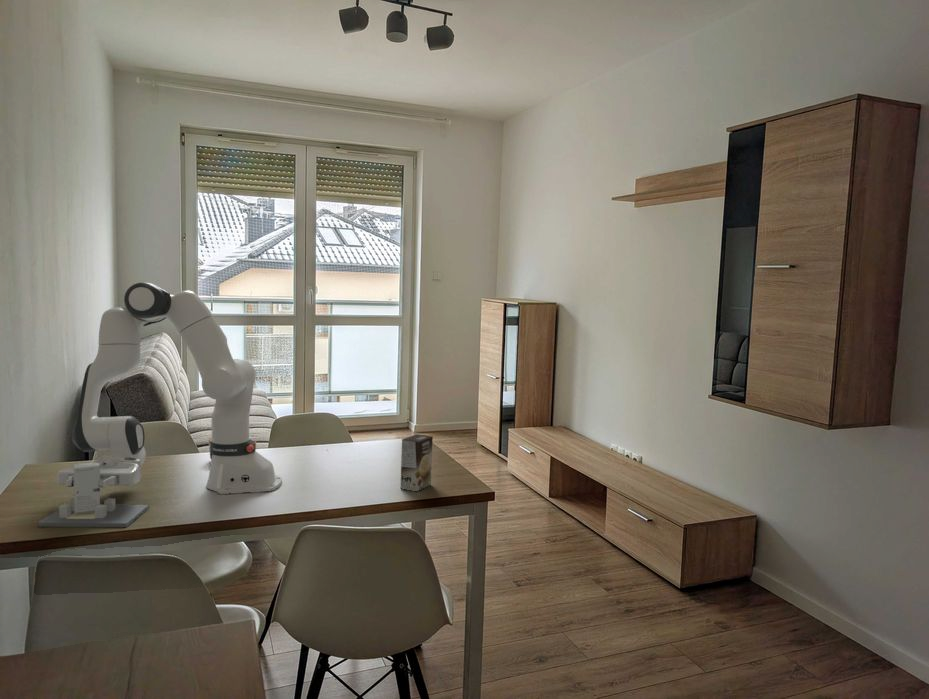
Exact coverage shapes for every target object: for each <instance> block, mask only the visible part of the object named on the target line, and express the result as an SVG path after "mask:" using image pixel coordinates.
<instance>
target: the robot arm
mask: <svg viewBox="0 0 929 699" xmlns="http://www.w3.org/2000/svg"><path fill="white" fill-rule="evenodd" d="M123 302H124V306H121V307H120V306H119V307H112V308H109V309H106V310H105V311H104V312H103V314H102V315H101V319H100V324H99V331H98V347H97V348H98V350H97V353H96V355H95V356H96V357H95V358H94V360H93V362H91V363H89V364H88V365H87V367H86V369H85V373H84V377H83V380H82V382H83V383H82V385H81V391H80V392H81V393H80V398H79V401H78V403H79V404H78V408H77V409H78V410H77V415H76V418H75V422H74V425H73V428H72V431H71V432H72V433H71V440H72V443H73V444H74V445H75V447H77V448H78V449H79V450H80V451H82V452H84V453H86V452H87V453H89V452H96V451H107V450H108V452H106V453H105V454H103V455H101V456H100V457H98V458H97V459H95V460H94V462H99V465H100V481H99V487H100V488H107V487H112V486H134V485H136V484H137V483H139V482H140V481H141V480H142V466H143V464H144V462H145V461H146V457H147V456H146V455H147V453H146V449H145V447H144V445H145V430H144V426H143V424H141V422H140V421H139V420H138V419H137V418H135V416H132V415H131V416H130V415H124V416H121V415H120V416H101V417H99V416H98V410H99V404H100V398H101V393H102V392H101V391H102V389H103V388H104V386H105V385H106V384H107V383H108V382H111V381H112V380H115V379H117V378H119V377H122V376H125V375H126V374H129V373H130V372H131V371H133V370H134V369H135V368H136V367H137V366H138V364H139V362H140V358H141V332H142V331H141V330H142V329H143V327H146V326H147V327H148V326H149V325H153V324H157V323H160V322H162V321H164V320H166V319H168V320H169V321H170V322H171V323H172V324H173V325H174V327H175V328H176V331H177V332H178V333H179V335H180V337H181V338H182V340H183V342H184V343H185V345H186V346H187V348H188V350H189V351H190V353H191V354H192V358H194V361H195V364H196V367H197V370H198V372H199V375H200V378H201V387H202V390H203V392H204V394H205V396H207V397H208V398H210V399H212V400H215V403H214V408H213V412H212V413H211V422H210V423H211V438H212V441H211V442H210V450H209V457H210V468H209V475H208V478H207V482H206V485H205V487H206V488H207V489H209V490H211V491H215V492H216V493H217V494H219V495H227V494H229V493H231V494H244V493H243V492H251V493H260V492H259V491H269V492H272V491H271V490H273V491H274V489H275V490H276V488H277V487H278V488H279V487H280V486H281V485H282V482H283V481H282V480H283V479H282V477H281V476H280V475H275V474H276V472H275V468H274V465H273V463H272V461H270V460H269V459H267V458H266V457H264V456H263V455H261V454H260V453H258V452H257V451H256V450H257V448H256V446H257V441H256V440H255V441H253V440H252V439H250V414H251V406H252V401H253V392H254V384H255V381H256V377H257V376H256V374H257V373H256V370H255V367H254V366H253V365H252V363H250V361H249V362H248V361H247V360H243V359H239V358H233V356H232V353H231V351H230V349H229V344H228V338H227V336H226V334H225V333H224V331H223V330H222V328H221V326H220V325H219V323H218V321H217V320H216V318H215V316H214V315H213V313H212V312H211V310H210V309H209V307H208V306H207V305H206V304H205V302H204V301H203V300H202V299H201V298H200V296H199V295H198V294H196V292H194V291H192V290H187V289H185V290H180V291H177V292H176V293H173V294H172V293H170V292H169V291H166V290H165V289H163V288H162V287H159V286H158V285H156V284H154V283H151V282H148V281H147V282H146V281H142V282H141V281H140V282H137V283H133V284H132V285H131V286H130V287H128V288H127V289H126V291H125V293H124V297H123ZM56 480H57V484H59V485H61V486H63V485H65V487H66V488H74V466H73V465H70V466H67V467H65V468H63V469H60V470H58V471H57V473H56ZM278 488H277V489H278ZM229 495H230V494H229Z"/></svg>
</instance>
